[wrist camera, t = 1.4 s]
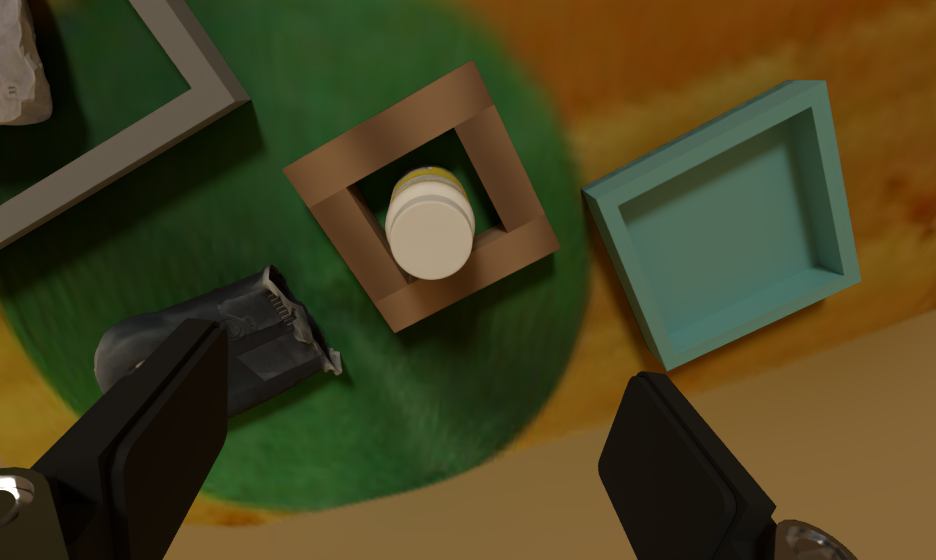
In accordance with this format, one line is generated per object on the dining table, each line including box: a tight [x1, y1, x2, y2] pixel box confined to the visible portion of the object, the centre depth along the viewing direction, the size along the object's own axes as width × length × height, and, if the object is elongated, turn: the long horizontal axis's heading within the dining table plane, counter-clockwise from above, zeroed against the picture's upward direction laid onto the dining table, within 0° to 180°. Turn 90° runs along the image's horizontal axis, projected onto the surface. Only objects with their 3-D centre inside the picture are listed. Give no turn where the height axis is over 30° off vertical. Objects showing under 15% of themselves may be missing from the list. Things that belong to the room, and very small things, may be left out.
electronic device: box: [94, 263, 342, 419], centre depth 32 cm, size 9×6×15 cm
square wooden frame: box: [282, 60, 561, 333], centre depth 29 cm, size 12×12×2 cm
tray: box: [581, 80, 861, 371], centre depth 31 cm, size 14×14×3 cm
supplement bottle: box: [385, 165, 475, 280], centre depth 26 cm, size 5×5×8 cm
